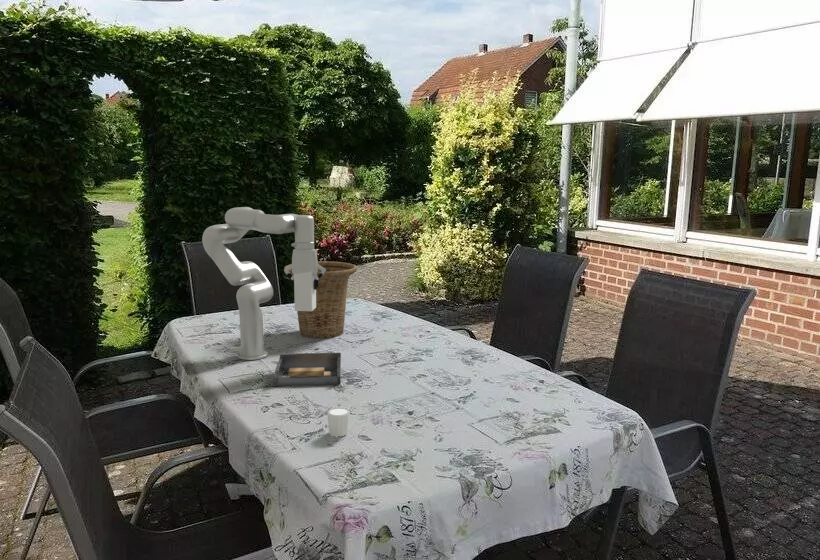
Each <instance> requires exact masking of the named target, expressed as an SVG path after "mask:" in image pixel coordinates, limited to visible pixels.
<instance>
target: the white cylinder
mask: <svg viewBox="0 0 820 560" xmlns="http://www.w3.org/2000/svg"><path fill="white" fill-rule="evenodd" d="M326 413H327V423H328V432H329V435H330V436H331V435H332V436H331V437H333V436H343V437H345V436H344V435H346V436H347V435H348V434H349V425H350V415H351V414H350V413H351V411H350V409H349V408H346V407H345V408H344V407H333V408H331V409H329V410H327V411H326Z"/></svg>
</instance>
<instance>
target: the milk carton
mask: <svg viewBox="0 0 820 560" xmlns="http://www.w3.org/2000/svg"><path fill="white" fill-rule="evenodd" d="M293 291H294V292H293V293H294V296H293V297H294V311H295V312H297V311H313V310H314V309H315V308H316V290H315V277H314V276H313V275H312V271H311V272H305V273H299V274H294V290H293Z"/></svg>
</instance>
